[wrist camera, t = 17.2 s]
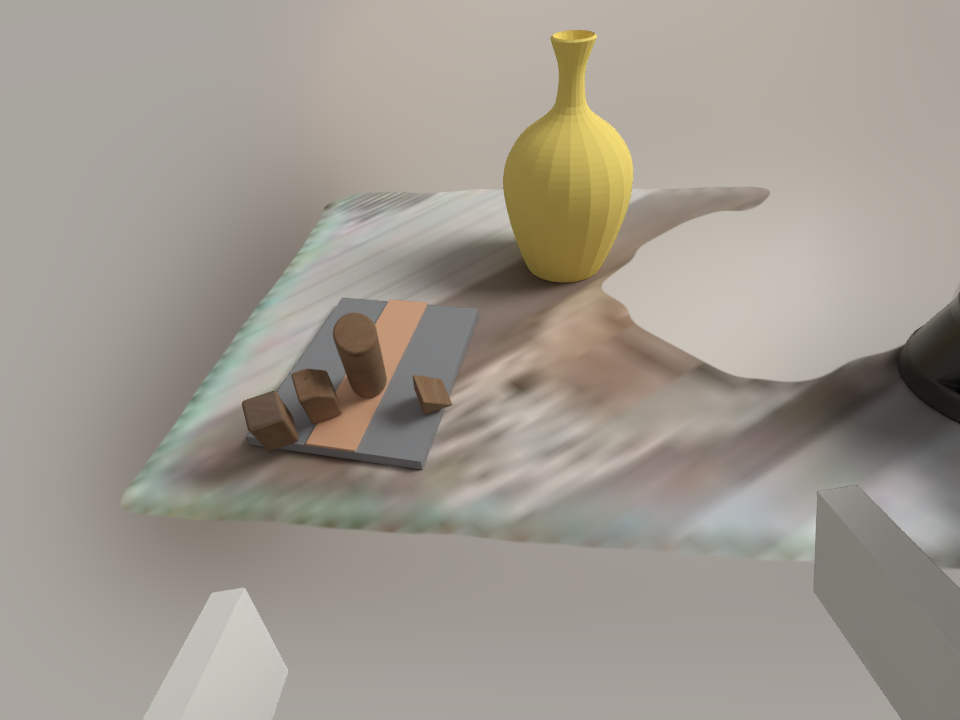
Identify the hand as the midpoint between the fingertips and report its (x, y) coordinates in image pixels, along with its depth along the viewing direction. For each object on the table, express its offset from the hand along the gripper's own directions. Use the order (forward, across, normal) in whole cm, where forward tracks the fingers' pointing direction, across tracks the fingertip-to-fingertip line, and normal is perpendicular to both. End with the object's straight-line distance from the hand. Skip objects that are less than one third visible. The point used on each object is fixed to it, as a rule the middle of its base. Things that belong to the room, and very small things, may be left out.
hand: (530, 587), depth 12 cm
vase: (+68, +8, -13) cm, 70 cm away
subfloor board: (+48, -16, -15) cm, 52 cm away
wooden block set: (+40, -17, -16) cm, 47 cm away
